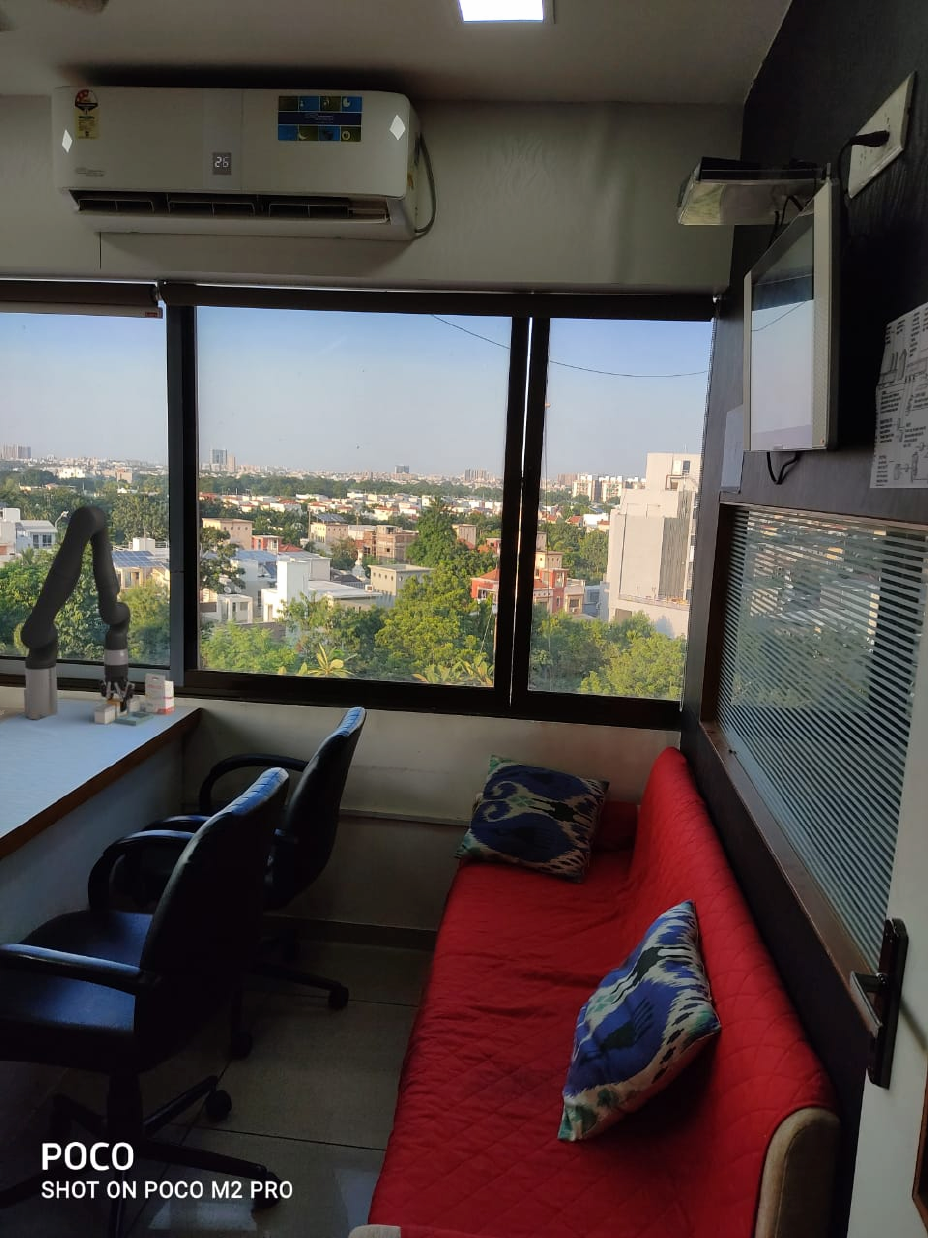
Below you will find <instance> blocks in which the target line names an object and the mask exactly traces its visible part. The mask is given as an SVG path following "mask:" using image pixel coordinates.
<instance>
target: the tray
mask: <svg viewBox="0 0 928 1238" xmlns="http://www.w3.org/2000/svg"><path fill="white" fill-rule="evenodd" d="M133 717H135V718H139V719H137V720H133V719H129V718H133ZM153 719H154V713H151V712H143V711H141V712H135V711H132V712H129V713H127V714H124V715H122V716H119V717H117V718H115V722H114V724H120V725H127V726H135V727H137V726H139V725H142V724H143V723H146V722H148V721H152V720H153Z"/></svg>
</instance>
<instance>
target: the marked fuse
mask: <svg viewBox="0 0 928 1238" xmlns="http://www.w3.org/2000/svg"><path fill="white" fill-rule="evenodd" d="M113 698H114V699H111V700H109V701H107V700H106V704H108V705H115V710H117V711H118V717H119V716H122V715H124V714H127V709H126V711H124V712H120V697H113Z"/></svg>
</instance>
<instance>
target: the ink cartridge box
mask: <svg viewBox="0 0 928 1238" xmlns="http://www.w3.org/2000/svg"><path fill="white" fill-rule="evenodd" d="M155 678H156V679H155ZM144 694H145V695H144V696H145V698H144V700H145V701H144V702H145V703H144V704H145V713H151V714H159V715H168V714H170V713H173V712H174V711H175V701H174V700H175V698H174V681H171V680H166V676H165V675H161V674H155V673H145V681H144Z"/></svg>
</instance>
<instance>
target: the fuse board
mask: <svg viewBox="0 0 928 1238" xmlns="http://www.w3.org/2000/svg"><path fill="white" fill-rule="evenodd" d="M140 700H141V696H140V695H135V694H133V697H132V699H129V700H127V713H129V712H132V711H135V712H143V711H144V709H141V703H140V702H141V701H140ZM93 712H94V720H92V721H90V722H89V723H91V724H98V725H105V726H110V725H111V724H115V718H117V717H118V711H117V710H115V705H108V704H107V703H104V704H101V705H98V706H95V707H94V708H93Z"/></svg>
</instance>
